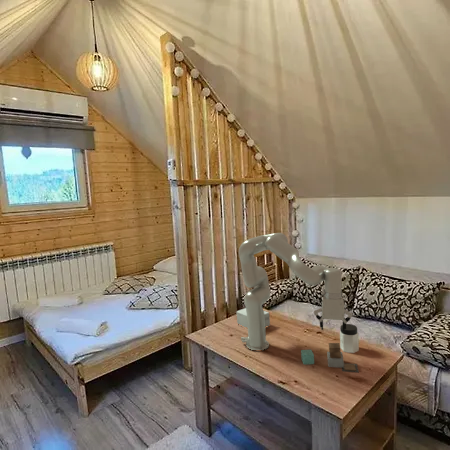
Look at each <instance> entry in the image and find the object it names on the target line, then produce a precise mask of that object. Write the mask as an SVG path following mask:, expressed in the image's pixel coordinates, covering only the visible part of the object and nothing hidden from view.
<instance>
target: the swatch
mask: <svg viewBox="0 0 450 450" xmlns="http://www.w3.org/2000/svg"><path fill="white" fill-rule="evenodd" d="M341 371H342V373H343V372H344V373H345V372H347V373H359V372H360V371H359V368H358V364H357V363H350V362H349V363H347V362H344V367H341Z"/></svg>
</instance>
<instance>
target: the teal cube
mask: <svg viewBox="0 0 450 450" xmlns="http://www.w3.org/2000/svg"><path fill="white" fill-rule="evenodd" d="M300 357H301V361H302V364H303V365H314V364H315V354H314V352H313V351H312V349H301V350H300Z"/></svg>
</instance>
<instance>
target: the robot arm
mask: <svg viewBox="0 0 450 450" xmlns="http://www.w3.org/2000/svg"><path fill="white" fill-rule="evenodd" d="M265 251H270V252H271V253H273V254H274V255H275V256H276V257H278V258H279V259H280V260H282V261H283V262H285V263H286V264H287V265H288V267H289V269H290V270H291V271H292V272H293V274H294V275H295V276H296V277H297V278H299V279H300V280H301V281H302V282H304V283H305V284H307V285H309V286H317V285H319V284H321V282H324V290H323V291H321V292H320V293H321V294H320V295H322V300H321V308H317V309H315V310H314V311H313V314H314V316H315V318H316V319H317V320H318V321H319V328H321V330H322V331H323V330H324V320H332V321H342V325H343V327H342V329H343V332H345V329H346V324H348V322H349V321H350V320H351V319H352V317H353V313H352V312H350V311H349V310H347V309H345V303H344V302H345V300H344V298H343V296H342V286H343V285H342V281H343V280H342V278H343V276H342V273H343V272H342V270H341V269H340V268H338V267H327V266H324V265H314V266H312V267H310V266H308V265H307V264H306V263H304V262H303V260H302V259H301V257H300V252H299V250H298V249H297V247H294V246H293V245H291V243H289V239H288V237H287V235H286V234H285V233H282V232H276V233H269V234H268V233H267V234H262V235H258V236H253V237H252V238H248V239H247V240H245V241H243V242H242V243H241V244H240V246H239V248H238V257H239V261H240V268H241V274H242V279H243V283H244V286H245V287H246V288H249V289H250V290H249V291H248V292H246V293H245V295H244V298H243V301H244V306H245V308H246V312H247V325H248V329H247V336H246V337H244V336H241V337H240V341H241V342H242V343H245V347H246V346H247V347H248V348H249V349H251V350H250V351H252V350H262V351H265V350H267V349H268V348H269V347H270V342H269V341H268V340H267V338H266V337H267V336H266V335H267V334H266V328H265V317H264V311H265V310H264V308H263V305H264V304H265V303H266V302H267V301H269V299H270V298H271V297H270V296H271V288H270V283H269V277H268V273H267V271H266V269H265V268H264V267H262V266H259V265H258V263H257V258H256V257H255V256H254V255H257V254H259V253H262V252H265ZM319 313H321V315H319ZM345 314H346V315H348V316H347V317H346V316H345ZM247 347H246V348H247ZM248 348H247V349H248ZM249 349H248V350H249ZM264 349H265V350H264Z"/></svg>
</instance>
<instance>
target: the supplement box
mask: <svg viewBox="0 0 450 450" xmlns="http://www.w3.org/2000/svg"><path fill="white" fill-rule="evenodd" d="M263 311H264V317H265V327H266V326H269V325H270V326H271V318H270V312H268V311H266V310H263ZM237 323H238V324H240V325H242V326H244V327H247V328H248V325H247V312H246V307H245V308H242V309H239V310H237V311H236V324H237Z"/></svg>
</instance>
